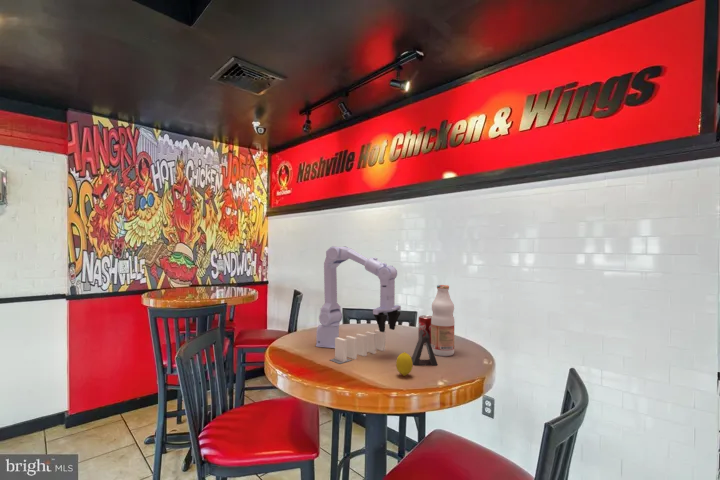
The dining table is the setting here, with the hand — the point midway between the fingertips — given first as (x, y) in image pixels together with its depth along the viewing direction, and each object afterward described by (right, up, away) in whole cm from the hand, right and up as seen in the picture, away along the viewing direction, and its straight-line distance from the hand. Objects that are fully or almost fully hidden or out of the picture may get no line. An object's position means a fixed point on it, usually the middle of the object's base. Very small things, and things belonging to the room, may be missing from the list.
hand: (387, 330), depth 142 cm
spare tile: (-18, -10, -5) cm, 21 cm away
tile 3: (-10, -10, +2) cm, 15 cm away
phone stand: (+13, -11, -7) cm, 19 cm away
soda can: (+20, -11, +21) cm, 31 cm away
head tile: (-2, -11, +10) cm, 15 cm away
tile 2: (-6, -11, +6) cm, 14 cm away
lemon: (+4, -10, -21) cm, 24 cm away
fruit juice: (+23, -11, +5) cm, 26 cm away
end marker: (-18, -10, -5) cm, 22 cm away
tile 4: (-14, -10, -2) cm, 18 cm away
